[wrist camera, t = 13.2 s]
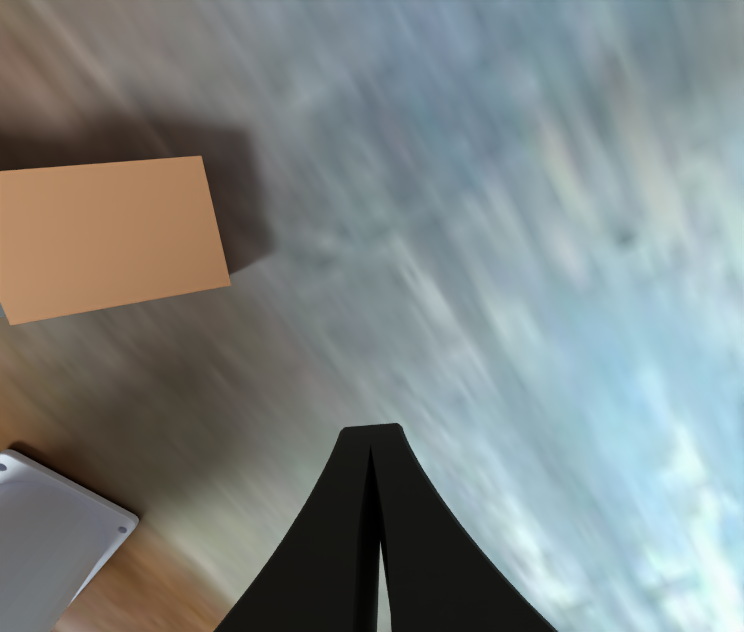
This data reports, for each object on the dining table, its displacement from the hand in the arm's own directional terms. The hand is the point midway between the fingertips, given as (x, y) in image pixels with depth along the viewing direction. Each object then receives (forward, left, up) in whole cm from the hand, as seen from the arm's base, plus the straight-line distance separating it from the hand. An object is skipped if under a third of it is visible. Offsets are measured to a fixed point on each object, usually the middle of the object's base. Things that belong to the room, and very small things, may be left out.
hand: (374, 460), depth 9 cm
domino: (-1, +8, -9) cm, 12 cm away
